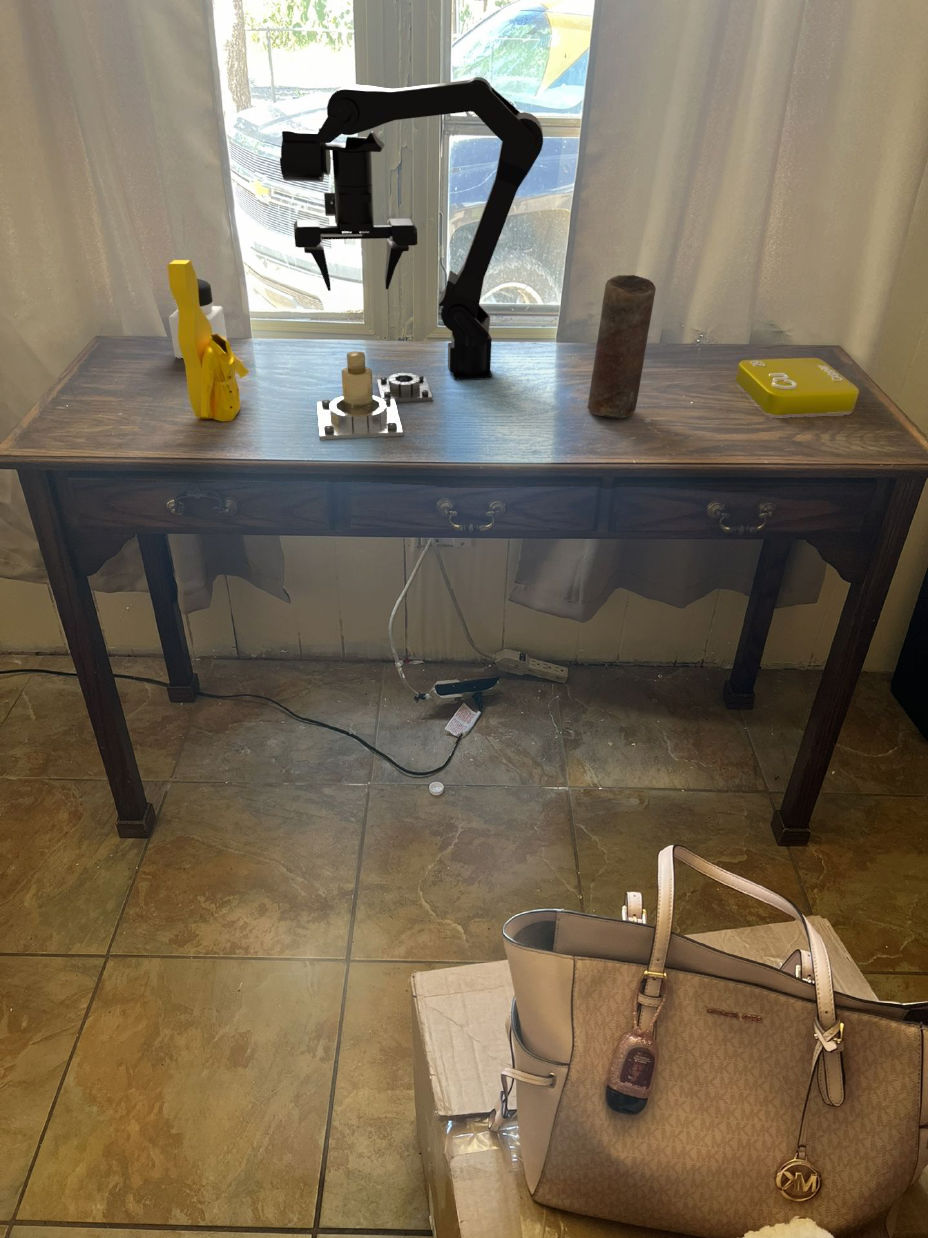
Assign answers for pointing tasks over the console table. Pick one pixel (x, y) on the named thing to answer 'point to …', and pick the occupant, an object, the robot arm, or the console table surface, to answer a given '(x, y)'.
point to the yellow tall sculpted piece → (204, 351)
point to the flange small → (404, 388)
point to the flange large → (358, 420)
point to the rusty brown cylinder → (621, 346)
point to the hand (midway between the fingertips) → (358, 289)
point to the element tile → (796, 386)
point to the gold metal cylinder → (357, 385)
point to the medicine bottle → (210, 311)
